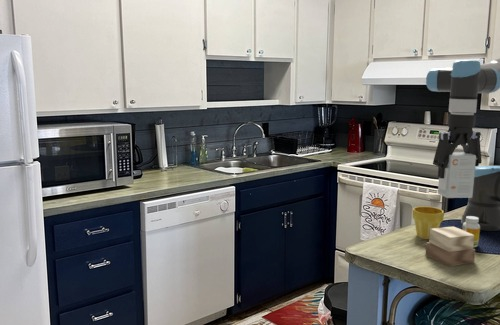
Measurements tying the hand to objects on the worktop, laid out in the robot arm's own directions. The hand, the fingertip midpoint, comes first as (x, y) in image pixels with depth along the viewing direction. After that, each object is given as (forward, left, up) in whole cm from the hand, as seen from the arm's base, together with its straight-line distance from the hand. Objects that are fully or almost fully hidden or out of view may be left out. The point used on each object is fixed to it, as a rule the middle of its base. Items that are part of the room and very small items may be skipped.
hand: (455, 187), depth 149 cm
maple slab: (0, 0, -19) cm, 19 cm away
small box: (0, 0, -3) cm, 3 cm away
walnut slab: (0, 0, -23) cm, 23 cm away
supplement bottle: (-16, -8, -23) cm, 29 cm away
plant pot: (-8, -20, -23) cm, 32 cm away
